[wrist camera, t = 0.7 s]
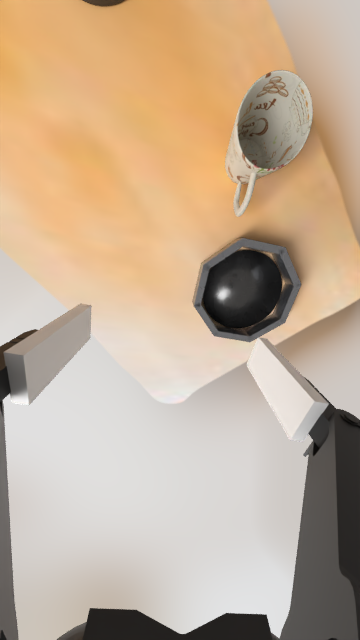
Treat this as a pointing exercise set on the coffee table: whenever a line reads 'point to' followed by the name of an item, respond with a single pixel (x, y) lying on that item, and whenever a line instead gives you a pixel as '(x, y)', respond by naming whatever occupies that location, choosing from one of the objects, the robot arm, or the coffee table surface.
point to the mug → (268, 130)
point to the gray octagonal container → (246, 289)
